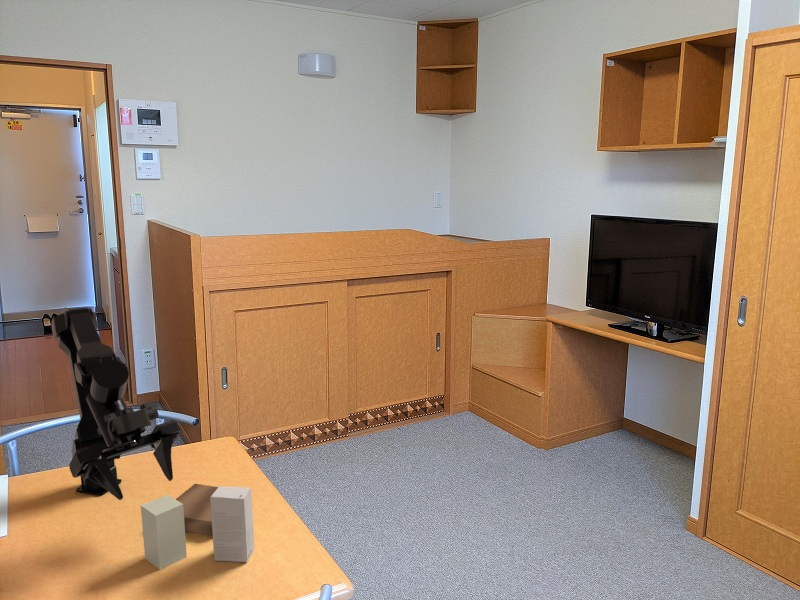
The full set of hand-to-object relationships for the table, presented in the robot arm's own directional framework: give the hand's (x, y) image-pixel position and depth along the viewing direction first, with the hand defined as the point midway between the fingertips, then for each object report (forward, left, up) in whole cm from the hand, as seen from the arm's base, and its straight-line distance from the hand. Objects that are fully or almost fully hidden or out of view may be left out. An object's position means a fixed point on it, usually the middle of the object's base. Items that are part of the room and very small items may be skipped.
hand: (147, 489), depth 115 cm
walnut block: (+3, +12, -12) cm, 17 cm away
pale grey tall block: (+4, -2, -11) cm, 12 cm away
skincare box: (+15, +2, -11) cm, 19 cm away
